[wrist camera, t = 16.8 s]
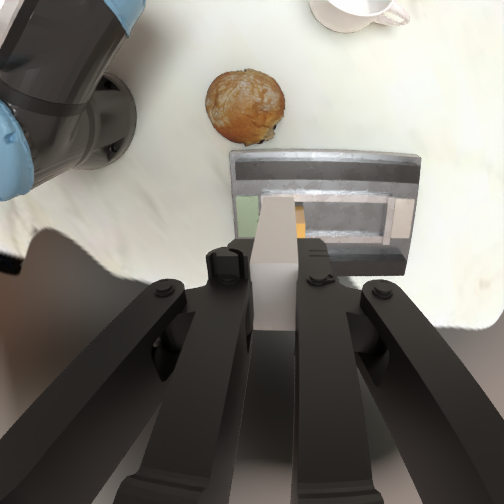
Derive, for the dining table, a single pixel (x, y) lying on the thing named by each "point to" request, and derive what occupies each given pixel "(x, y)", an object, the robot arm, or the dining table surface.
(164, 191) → the dining table surface
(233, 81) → the bread roll
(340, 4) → the mug
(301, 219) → the lever
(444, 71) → the dining table surface
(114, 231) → the dining table surface
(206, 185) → the dining table surface
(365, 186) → the panel
